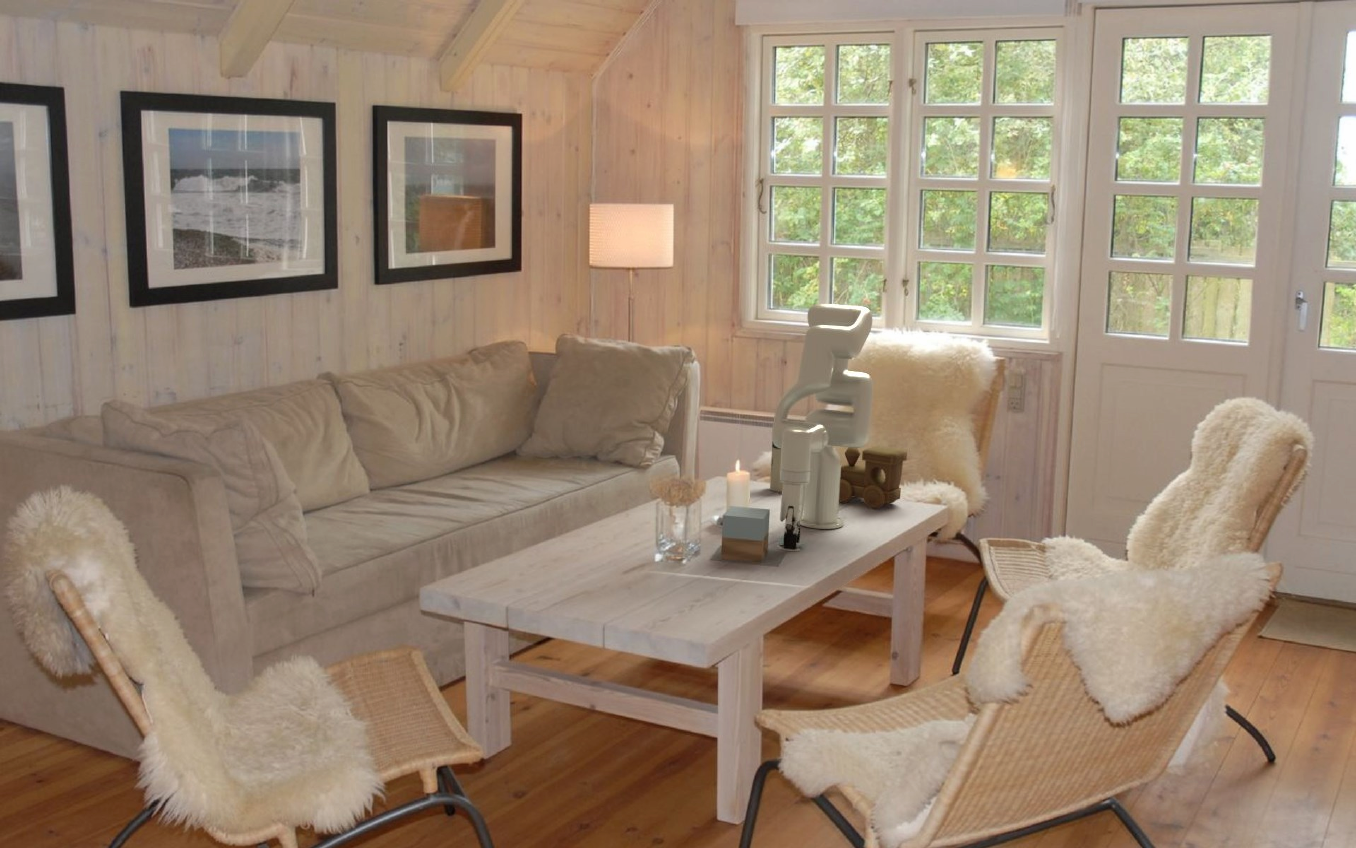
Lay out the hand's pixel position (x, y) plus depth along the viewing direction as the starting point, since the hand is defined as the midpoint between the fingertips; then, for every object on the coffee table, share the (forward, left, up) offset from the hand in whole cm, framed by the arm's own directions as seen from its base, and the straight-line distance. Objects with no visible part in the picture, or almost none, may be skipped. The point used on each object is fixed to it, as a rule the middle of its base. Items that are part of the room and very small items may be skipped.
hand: (791, 544), depth 357 cm
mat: (+12, -9, -1) cm, 15 cm away
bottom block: (+12, -10, -1) cm, 16 cm away
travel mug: (-65, -12, -1) cm, 66 cm away
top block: (+12, -10, +5) cm, 16 cm away
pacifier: (+1, 0, -1) cm, 1 cm away
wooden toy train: (-57, +14, -1) cm, 59 cm away
